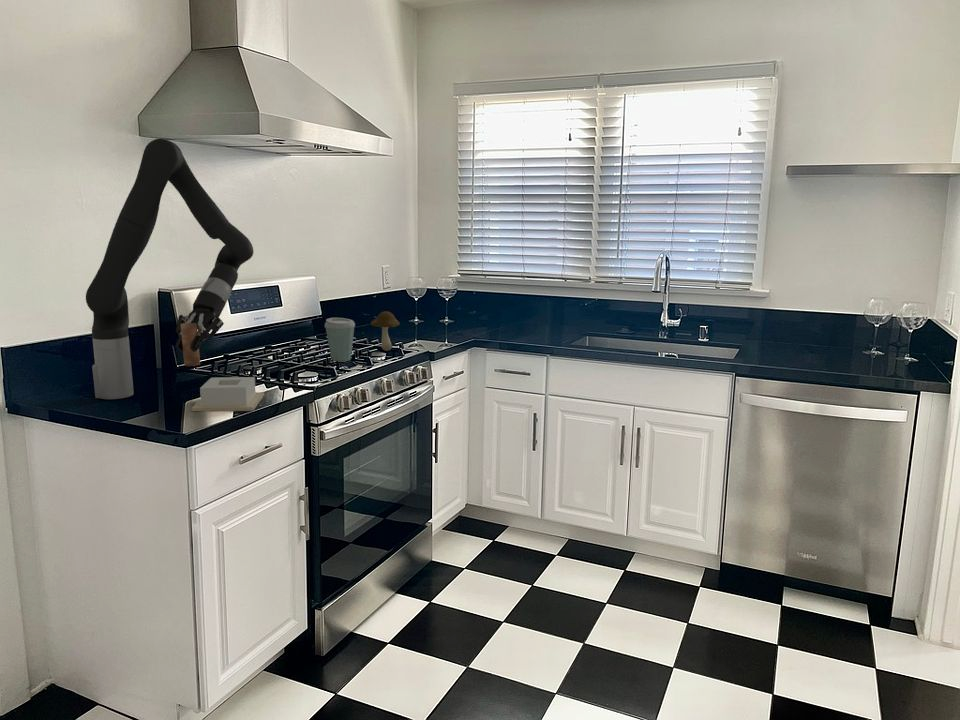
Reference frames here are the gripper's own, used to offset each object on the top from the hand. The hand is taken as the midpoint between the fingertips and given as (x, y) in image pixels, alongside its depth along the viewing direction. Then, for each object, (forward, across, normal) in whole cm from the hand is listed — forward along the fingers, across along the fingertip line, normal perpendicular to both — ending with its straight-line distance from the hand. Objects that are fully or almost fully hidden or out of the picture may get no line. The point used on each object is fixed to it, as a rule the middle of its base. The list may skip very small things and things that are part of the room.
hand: (185, 349), depth 199 cm
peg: (+2, 0, +5) cm, 5 cm away
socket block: (+5, +5, +19) cm, 20 cm away
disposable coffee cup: (-37, +5, +62) cm, 72 cm away
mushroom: (-52, +11, +78) cm, 95 cm away
